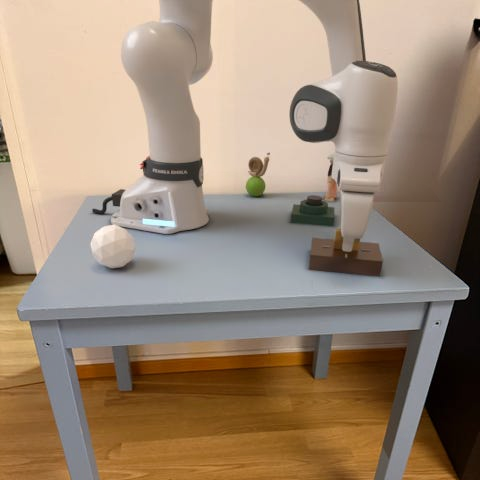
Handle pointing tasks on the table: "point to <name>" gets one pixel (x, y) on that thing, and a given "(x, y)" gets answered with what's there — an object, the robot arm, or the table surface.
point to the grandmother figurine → (331, 182)
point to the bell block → (313, 214)
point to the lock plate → (345, 258)
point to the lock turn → (339, 241)
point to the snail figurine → (256, 176)
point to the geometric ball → (113, 246)
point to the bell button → (314, 200)
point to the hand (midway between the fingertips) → (346, 244)
